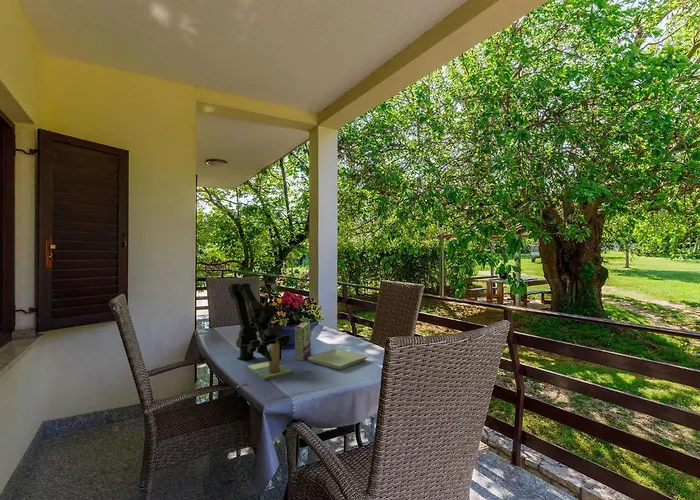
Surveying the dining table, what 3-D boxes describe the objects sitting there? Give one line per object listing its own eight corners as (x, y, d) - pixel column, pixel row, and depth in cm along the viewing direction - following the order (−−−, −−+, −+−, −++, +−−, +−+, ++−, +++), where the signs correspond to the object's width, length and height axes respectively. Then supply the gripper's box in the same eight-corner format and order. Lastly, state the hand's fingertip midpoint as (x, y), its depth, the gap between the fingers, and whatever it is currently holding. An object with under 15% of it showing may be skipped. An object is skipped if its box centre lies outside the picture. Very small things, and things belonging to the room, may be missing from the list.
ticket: (244, 368, 173) (244, 365, 173) (272, 362, 182) (272, 360, 182) (256, 375, 164) (256, 372, 164) (285, 369, 172) (285, 366, 172)
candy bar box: (301, 353, 196) (301, 322, 196) (311, 354, 195) (311, 322, 195) (294, 360, 185) (294, 326, 185) (304, 361, 184) (304, 327, 184)
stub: (256, 375, 163) (256, 345, 163) (285, 368, 172) (285, 340, 172) (264, 380, 158) (264, 349, 158) (293, 373, 167) (293, 343, 166)
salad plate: (335, 354, 197) (335, 347, 197) (368, 362, 184) (368, 355, 184) (306, 364, 181) (306, 356, 181) (340, 373, 168) (340, 366, 168)
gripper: (250, 322, 162) (261, 353, 154) (288, 316, 174) (301, 346, 166) (242, 336, 169) (253, 368, 160) (280, 330, 180) (292, 359, 172)
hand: (275, 360), depth 164 cm, fingers closed on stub, 4 cm apart
